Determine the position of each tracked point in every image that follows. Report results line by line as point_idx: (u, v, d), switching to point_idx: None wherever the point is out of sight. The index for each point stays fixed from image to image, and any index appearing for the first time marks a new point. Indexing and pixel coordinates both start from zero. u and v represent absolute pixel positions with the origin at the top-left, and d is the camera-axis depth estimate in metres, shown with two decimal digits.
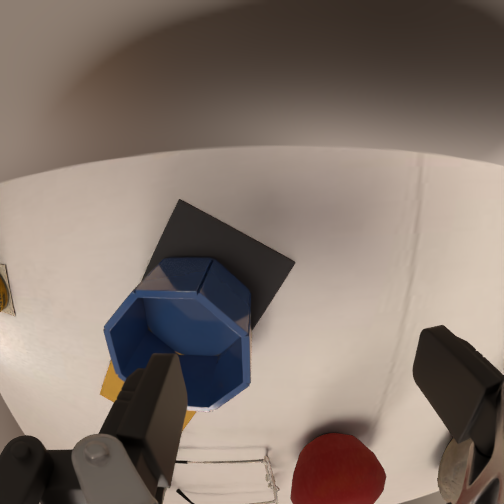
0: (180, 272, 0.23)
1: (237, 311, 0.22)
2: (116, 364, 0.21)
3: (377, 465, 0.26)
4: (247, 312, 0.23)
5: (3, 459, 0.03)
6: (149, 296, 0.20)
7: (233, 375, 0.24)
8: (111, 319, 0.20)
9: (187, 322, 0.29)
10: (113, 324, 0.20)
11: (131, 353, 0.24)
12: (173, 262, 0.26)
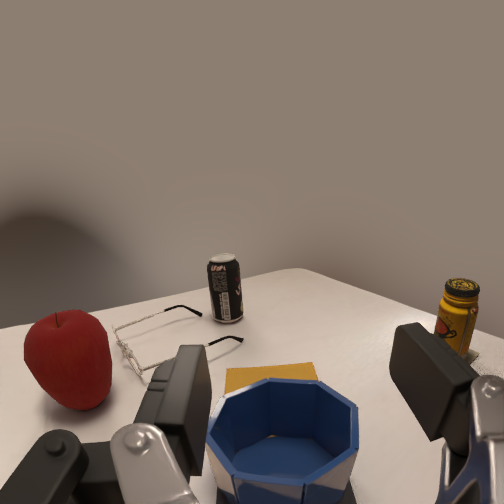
0: (325, 493, 0.16)
1: (252, 492, 0.15)
2: (325, 388, 0.23)
3: (36, 372, 0.25)
4: (240, 497, 0.16)
5: (34, 452, 0.04)
6: (342, 454, 0.16)
7: (219, 438, 0.20)
8: (356, 416, 0.19)
9: (283, 465, 0.23)
10: (352, 414, 0.19)
11: (316, 407, 0.24)
12: (333, 498, 0.17)
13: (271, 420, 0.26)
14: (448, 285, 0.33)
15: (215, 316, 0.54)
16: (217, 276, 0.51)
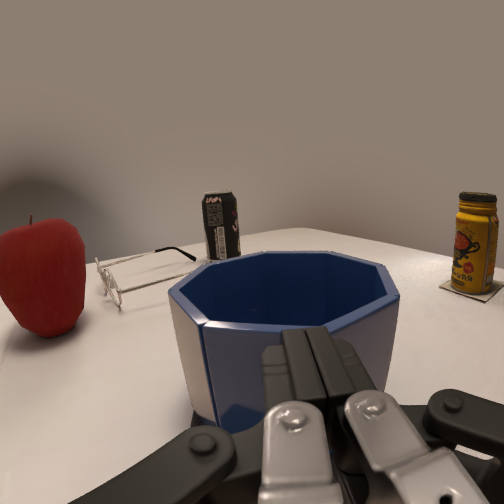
0: None
1: (235, 369, 0.11)
2: (339, 255, 0.19)
3: None
4: (216, 388, 0.12)
5: (173, 445, 0.05)
6: (377, 300, 0.12)
7: None
8: (386, 271, 0.15)
9: None
10: (379, 270, 0.15)
11: (329, 292, 0.20)
12: None
13: (271, 322, 0.22)
14: (463, 193, 0.28)
15: (210, 256, 0.50)
16: (212, 209, 0.47)
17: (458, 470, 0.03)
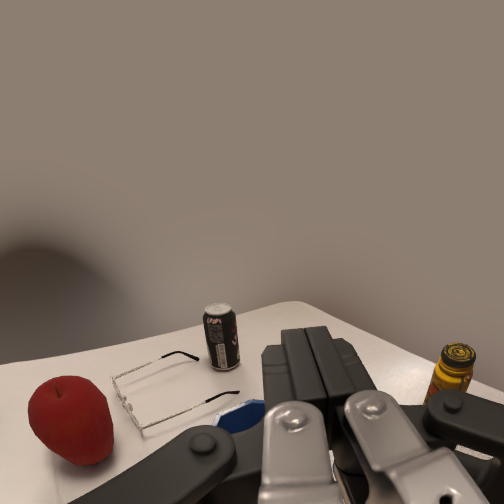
0: None
1: None
2: None
3: (42, 440, 0.23)
4: None
5: (173, 445, 0.05)
6: None
7: None
8: None
9: None
10: None
11: None
12: None
13: None
14: (444, 354, 0.31)
15: (212, 364, 0.52)
16: (212, 329, 0.49)
17: (459, 471, 0.03)
